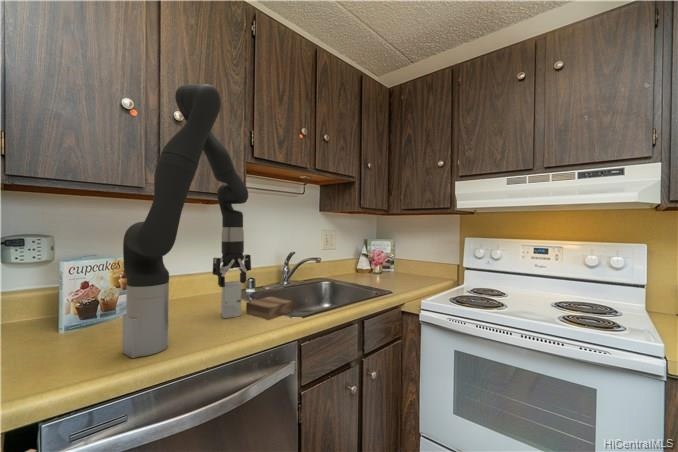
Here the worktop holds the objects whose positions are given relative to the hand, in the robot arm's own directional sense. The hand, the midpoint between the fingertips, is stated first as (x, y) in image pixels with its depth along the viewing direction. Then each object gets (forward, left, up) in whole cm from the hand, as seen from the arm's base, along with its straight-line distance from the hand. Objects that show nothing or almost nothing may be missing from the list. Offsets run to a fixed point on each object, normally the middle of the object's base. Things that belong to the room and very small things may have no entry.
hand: (232, 284), depth 104 cm
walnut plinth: (+11, -8, -11) cm, 17 cm away
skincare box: (0, 0, -11) cm, 11 cm away
